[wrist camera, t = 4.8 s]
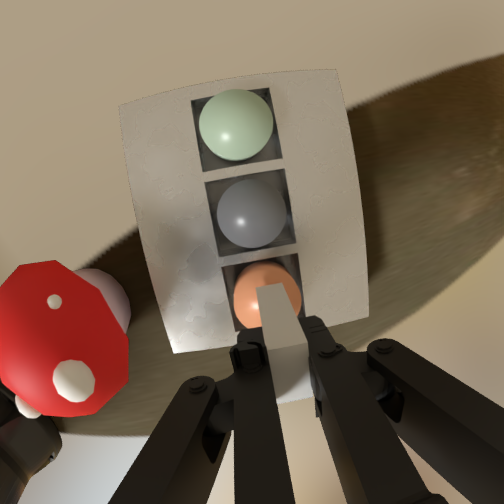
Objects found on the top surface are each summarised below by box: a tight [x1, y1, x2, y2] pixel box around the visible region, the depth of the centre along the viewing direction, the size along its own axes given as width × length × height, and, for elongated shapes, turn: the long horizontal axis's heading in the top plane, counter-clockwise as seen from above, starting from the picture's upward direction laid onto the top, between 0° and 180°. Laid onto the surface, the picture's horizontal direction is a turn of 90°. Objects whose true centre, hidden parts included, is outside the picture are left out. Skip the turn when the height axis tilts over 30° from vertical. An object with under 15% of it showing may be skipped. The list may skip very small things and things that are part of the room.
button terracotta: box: [234, 261, 301, 329], centre depth 18 cm, size 4×4×2 cm
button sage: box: [199, 89, 273, 161], centre depth 16 cm, size 4×4×2 cm
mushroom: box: [0, 260, 131, 418], centre depth 16 cm, size 11×11×12 cm
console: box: [119, 69, 369, 353], centre depth 19 cm, size 14×17×4 cm
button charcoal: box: [217, 179, 286, 248], centre depth 18 cm, size 4×4×2 cm
